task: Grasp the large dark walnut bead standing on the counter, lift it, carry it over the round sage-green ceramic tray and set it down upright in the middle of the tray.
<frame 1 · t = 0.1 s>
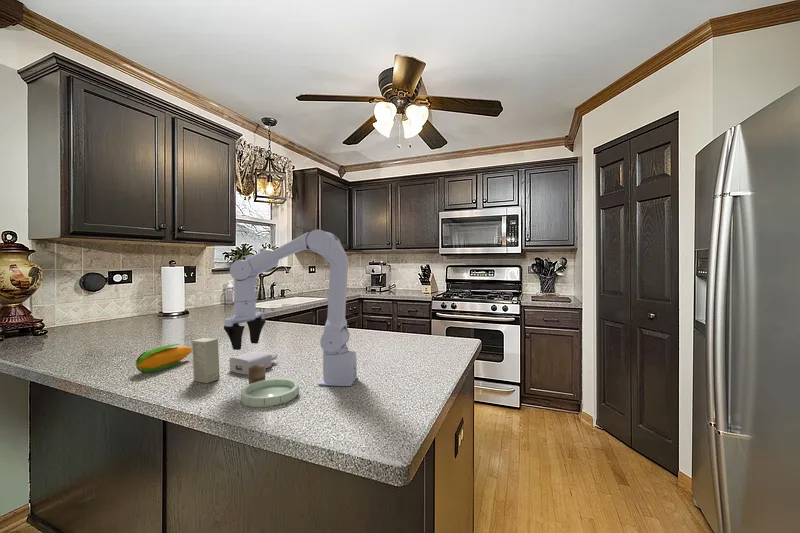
hand: (246, 346, 103), 10 cm above the countertop, tool pointing down, fingers open, 7 cm apart
walnut bead: (257, 384, 99), on the countertop
charger: (258, 367, 116), on the countertop
corn: (166, 367, 116), on the countertop
skincare box: (206, 380, 103), on the countertop
round tray: (270, 395, 90), on the countertop
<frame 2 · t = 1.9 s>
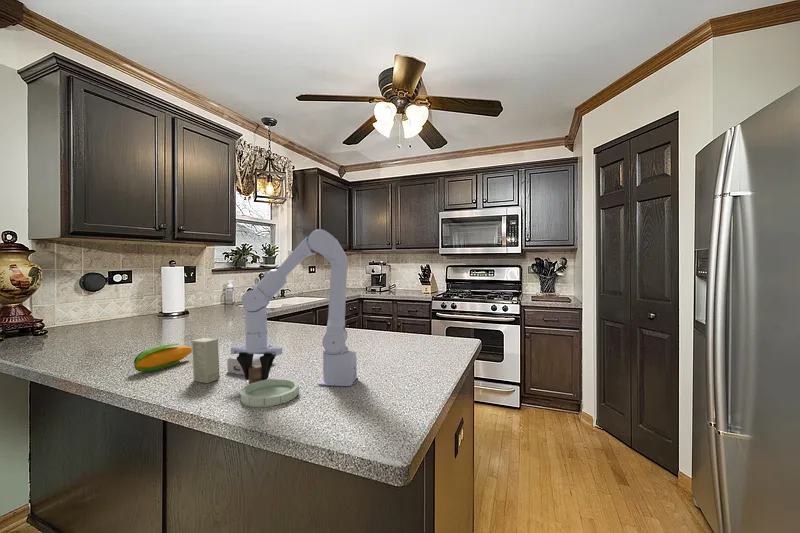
hand: (257, 379, 99), 1 cm above the countertop, tool pointing down, fingers closed on walnut bead, 4 cm apart
walnut bead: (257, 384, 99), on the countertop, touching gripper
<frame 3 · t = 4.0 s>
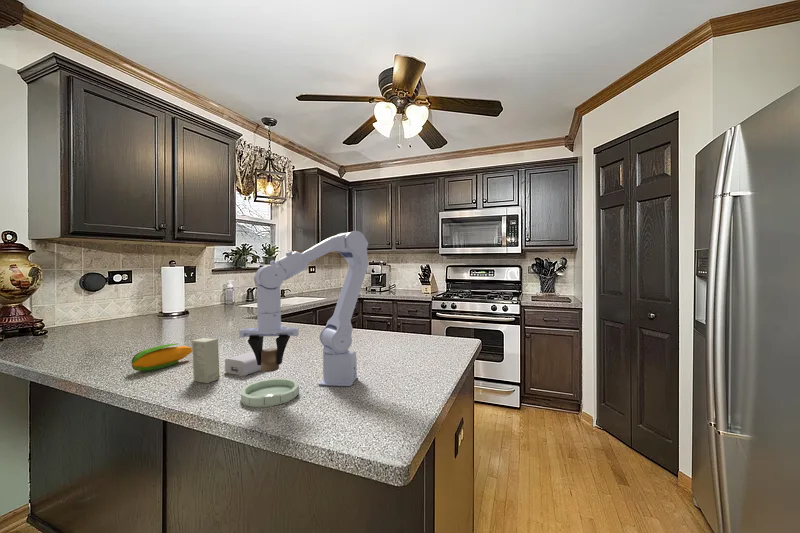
hand: (269, 363, 90), 8 cm above the countertop, tool pointing down, fingers closed on walnut bead, 4 cm apart
walnut bead: (270, 369, 90), point 7 cm above the countertop, touching gripper
when the fingers open (3 cm above the countertop, at t = 5.8 s): walnut bead stays where it is, resting on round tray.
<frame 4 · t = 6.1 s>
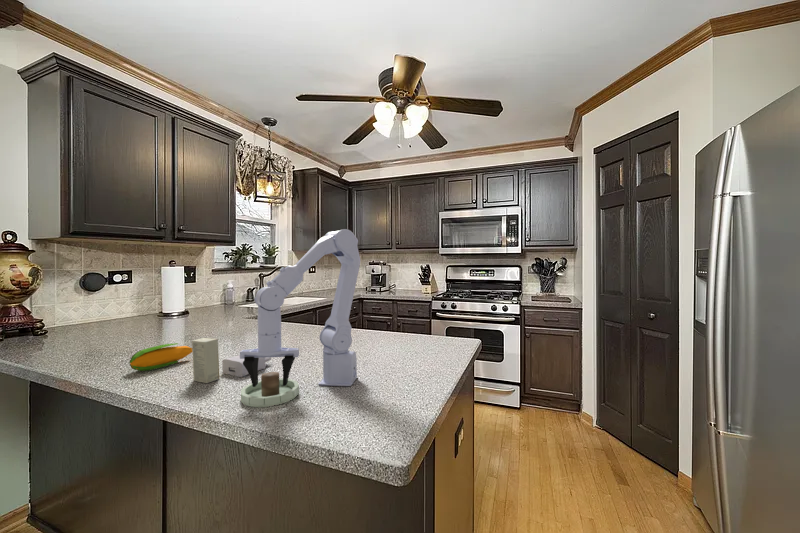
hand: (270, 384, 90), 3 cm above the countertop, tool pointing down, fingers open, 7 cm apart
walnut bead: (270, 393, 90), point 1 cm above the countertop, touching round tray
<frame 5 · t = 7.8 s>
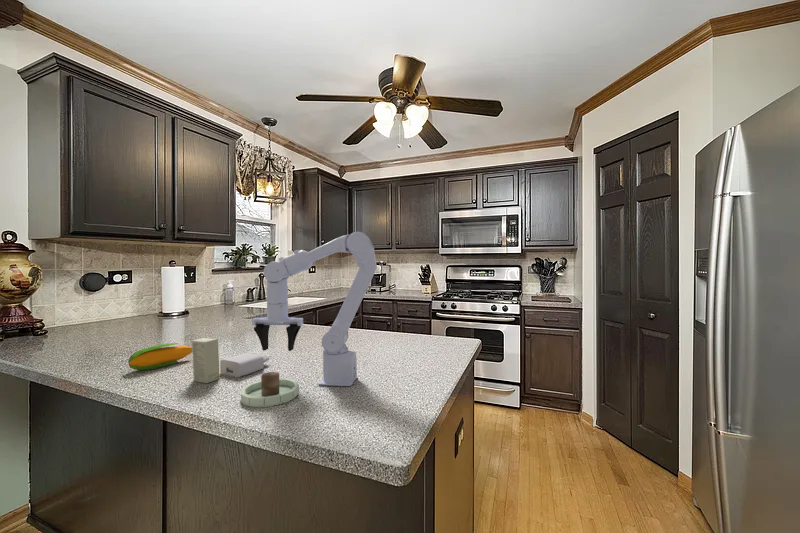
hand: (278, 349, 100), 9 cm above the countertop, tool pointing down, fingers open, 7 cm apart
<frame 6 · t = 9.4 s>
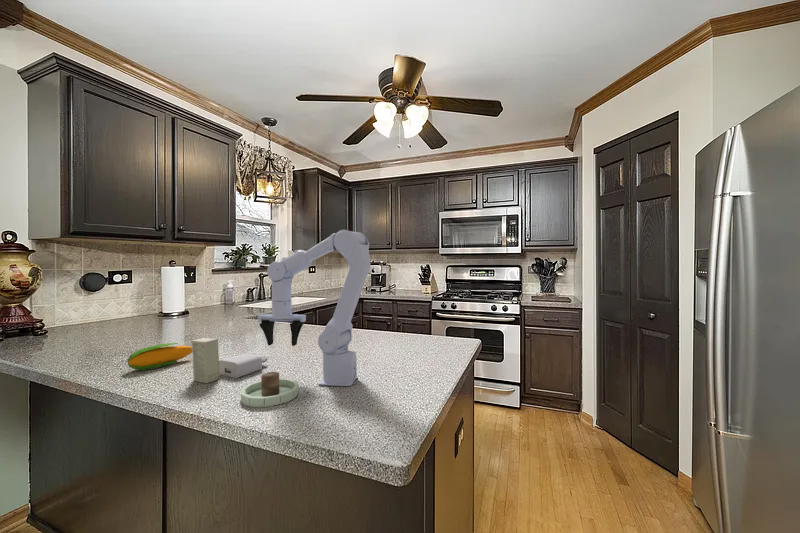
hand: (282, 344, 106), 9 cm above the countertop, tool pointing down, fingers open, 7 cm apart
at the end: walnut bead 0.0 cm off-centre on the round tray, point 0.6 cm above the round tray's base; walnut bead tilted 0°; the gripper is holding nothing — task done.
